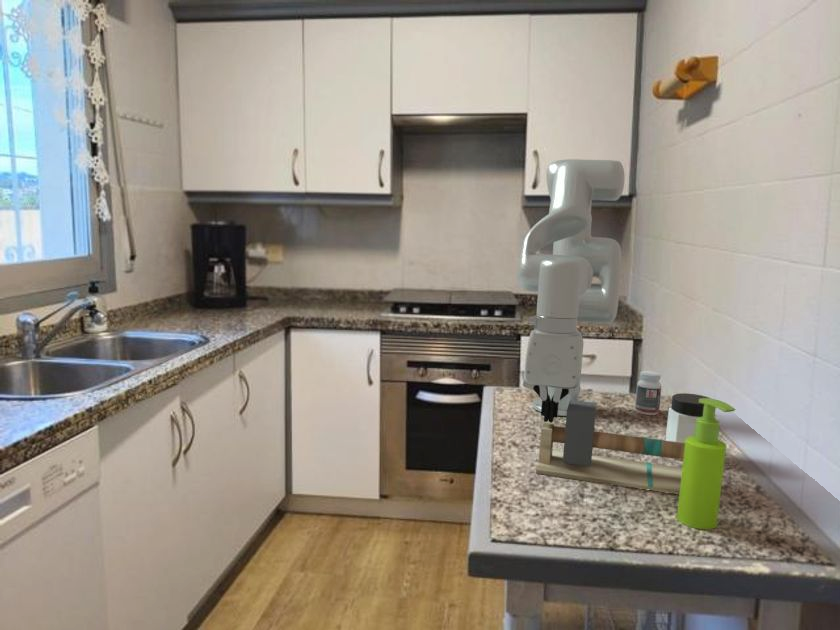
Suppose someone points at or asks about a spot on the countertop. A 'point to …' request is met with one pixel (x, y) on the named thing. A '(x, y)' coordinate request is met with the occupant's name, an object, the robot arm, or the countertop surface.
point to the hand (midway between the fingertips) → (548, 420)
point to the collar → (579, 433)
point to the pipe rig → (614, 461)
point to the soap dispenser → (703, 470)
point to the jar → (683, 416)
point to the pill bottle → (648, 393)
